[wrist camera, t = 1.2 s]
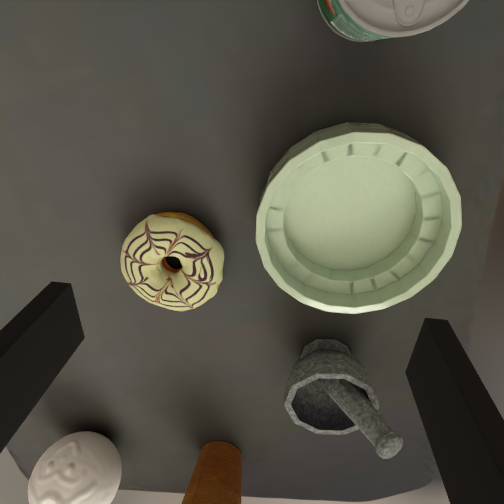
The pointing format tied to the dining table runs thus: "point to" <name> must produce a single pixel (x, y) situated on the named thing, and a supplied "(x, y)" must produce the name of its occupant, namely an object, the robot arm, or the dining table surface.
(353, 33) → the canned tomato
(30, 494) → the decorative ball
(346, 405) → the mortar and pestle
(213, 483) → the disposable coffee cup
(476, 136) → the dining table surface
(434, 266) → the bowl
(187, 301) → the decorated donut
